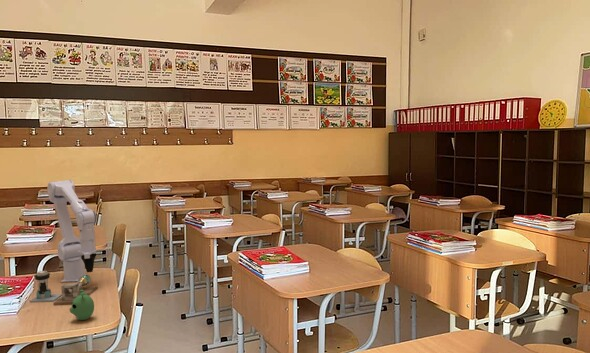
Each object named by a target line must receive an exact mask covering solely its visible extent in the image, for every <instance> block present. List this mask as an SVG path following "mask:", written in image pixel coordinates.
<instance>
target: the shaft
mask: <svg viewBox="0 0 590 353" xmlns="http://www.w3.org/2000/svg"><path fill="white" fill-rule="evenodd" d="M91 281H92V280H91V277H90V276H89V275H88V274H87V275H83V276H82V277H80V279H79V280H78V281H75V283H74V284H79V288H80V287H87V285H89V284H90V283H91ZM67 293H68V294H72V293H73V288H68V289H67Z"/></svg>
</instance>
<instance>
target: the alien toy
mask: <svg viewBox="0 0 590 353" xmlns="http://www.w3.org/2000/svg"><path fill="white" fill-rule="evenodd" d="M79 292H80V295H79V296H77V297H76V298H74V300H73V302H72V305H71V307H70V308H69V312H70V314H73V315H74V316H75V319H77V320H79V321H86V320H88V319H89V318H91V317H92V315H93V314H94V311H95V302H94V299H93V298H92V297H91V295H85V293H84V290H80V291H79Z"/></svg>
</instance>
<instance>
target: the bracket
mask: <svg viewBox="0 0 590 353" xmlns="http://www.w3.org/2000/svg"><path fill="white" fill-rule="evenodd" d="M68 288H73V293H72V294H68V293H67V289H68ZM80 290H84V293H85V295H89V296H91V295H92V294H93V293H94V292H96V290H99V287H98V285H94V286H93V285H92V286H83V287H82V286H81V287H80V288H79V284H75V283H65V284H63V285H61V294H62V296H61V297H60V298H58V299H57V300H55V301H53V302H52V303H53V306H69V305H70V306H72V302H73V300H74V298H76V297H77V296H79V295H80V292H79V291H80Z"/></svg>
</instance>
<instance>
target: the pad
mask: <svg viewBox="0 0 590 353" xmlns="http://www.w3.org/2000/svg"><path fill="white" fill-rule="evenodd" d="M54 294H55V295H54ZM51 295H52V296H50V297H49V298H41V299H37V296H35V297H33V298H32V299H31V300H29V302H30V303H44V302H45V303H46V302H55V301H56V300H58V299H59V298H61V297H62V293H51Z"/></svg>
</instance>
